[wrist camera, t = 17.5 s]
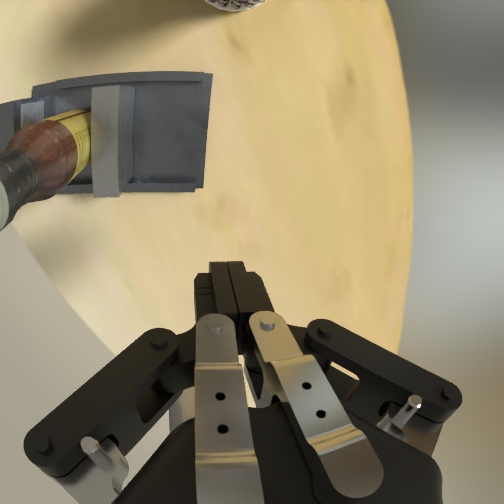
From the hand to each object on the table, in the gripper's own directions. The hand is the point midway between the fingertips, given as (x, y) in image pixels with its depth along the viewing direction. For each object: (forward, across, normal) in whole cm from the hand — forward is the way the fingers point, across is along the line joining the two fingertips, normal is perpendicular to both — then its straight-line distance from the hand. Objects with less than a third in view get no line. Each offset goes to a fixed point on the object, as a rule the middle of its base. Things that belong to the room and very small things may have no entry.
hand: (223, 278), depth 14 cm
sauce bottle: (+22, +14, -4) cm, 26 cm away
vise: (+22, +10, -4) cm, 25 cm away
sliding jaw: (+21, +9, -4) cm, 24 cm away
